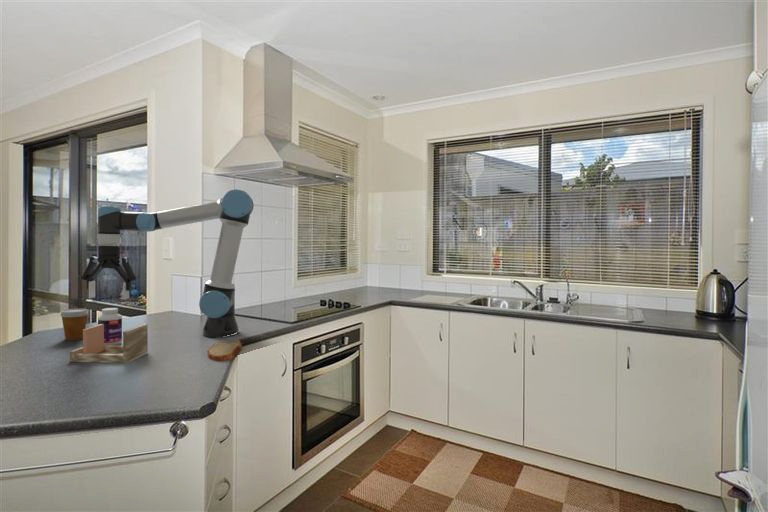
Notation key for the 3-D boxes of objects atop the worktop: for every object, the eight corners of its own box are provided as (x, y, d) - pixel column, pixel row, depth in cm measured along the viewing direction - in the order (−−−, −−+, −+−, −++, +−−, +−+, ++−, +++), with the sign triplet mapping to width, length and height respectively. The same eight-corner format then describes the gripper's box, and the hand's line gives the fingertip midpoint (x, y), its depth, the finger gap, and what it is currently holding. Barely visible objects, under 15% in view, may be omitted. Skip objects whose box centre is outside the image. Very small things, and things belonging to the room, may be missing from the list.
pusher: (104, 350, 156) (103, 324, 156) (86, 357, 147) (86, 329, 147) (100, 350, 156) (100, 324, 156) (83, 357, 147) (82, 329, 147)
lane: (147, 353, 158) (147, 324, 158) (127, 362, 146) (127, 331, 145) (94, 351, 158) (94, 322, 158) (69, 361, 146) (69, 330, 145)
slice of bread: (221, 363, 149) (221, 353, 148) (191, 354, 158) (191, 345, 158) (261, 352, 164) (261, 343, 164) (231, 345, 173) (231, 336, 173)
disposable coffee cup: (94, 337, 180) (93, 309, 179) (71, 342, 171) (70, 313, 170) (78, 335, 183) (78, 307, 182) (54, 340, 174) (54, 311, 173)
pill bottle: (110, 347, 164) (109, 311, 163) (92, 346, 166) (92, 310, 165) (126, 342, 172) (126, 307, 171) (110, 341, 174) (109, 306, 173)
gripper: (146, 245, 171) (145, 297, 172) (84, 243, 171) (84, 295, 172) (135, 246, 163) (134, 300, 164) (70, 244, 163) (70, 298, 164)
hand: (109, 298), depth 168 cm, fingers open, 13 cm apart
